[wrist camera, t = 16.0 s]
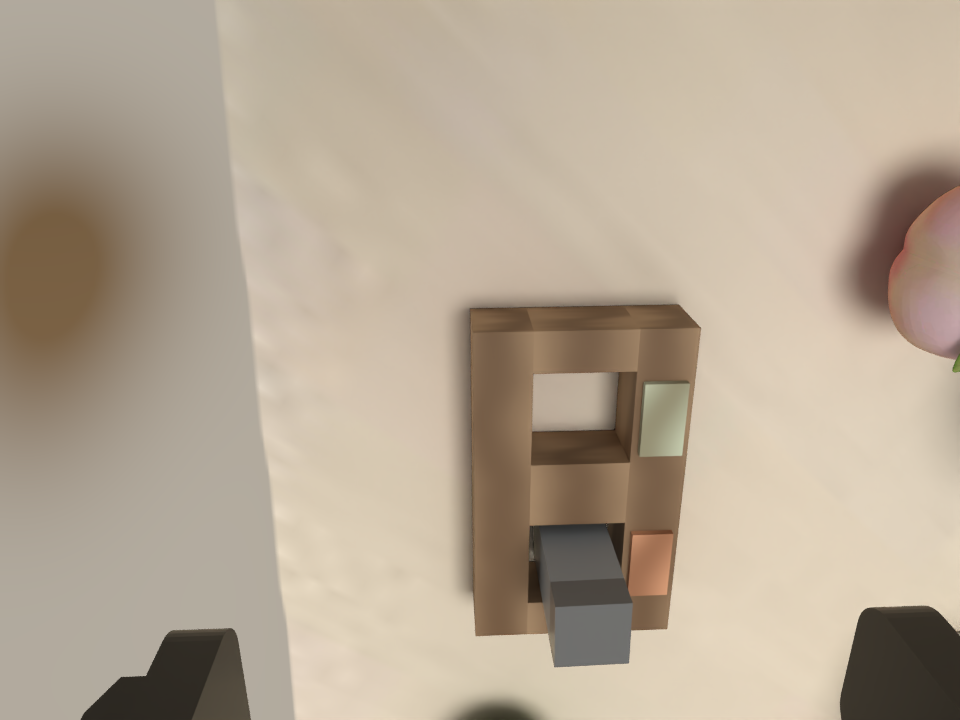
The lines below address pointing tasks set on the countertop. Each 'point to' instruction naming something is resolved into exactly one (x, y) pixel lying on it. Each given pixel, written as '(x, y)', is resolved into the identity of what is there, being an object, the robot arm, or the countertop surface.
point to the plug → (583, 595)
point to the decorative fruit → (930, 280)
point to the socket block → (578, 451)
